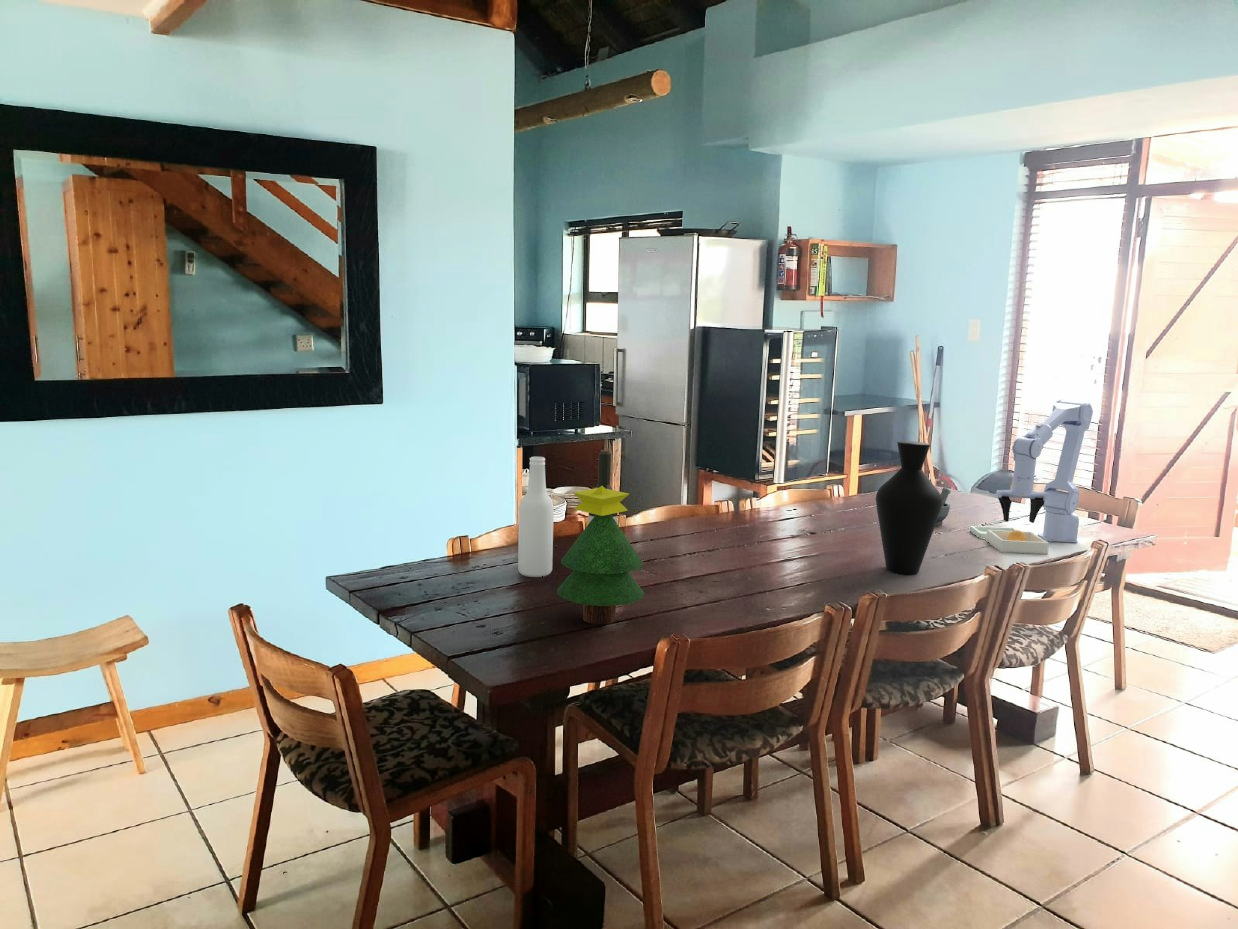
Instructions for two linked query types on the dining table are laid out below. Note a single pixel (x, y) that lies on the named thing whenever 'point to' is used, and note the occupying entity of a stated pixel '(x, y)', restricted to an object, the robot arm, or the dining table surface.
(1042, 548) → the cream open box
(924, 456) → the vase
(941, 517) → the mortar and pestle
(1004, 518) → the robot arm
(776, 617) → the dining table surface
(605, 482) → the wine bottle
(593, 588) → the decorative tree
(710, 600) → the dining table surface
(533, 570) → the alcohol
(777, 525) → the dining table surface
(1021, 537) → the ball
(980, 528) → the tray
